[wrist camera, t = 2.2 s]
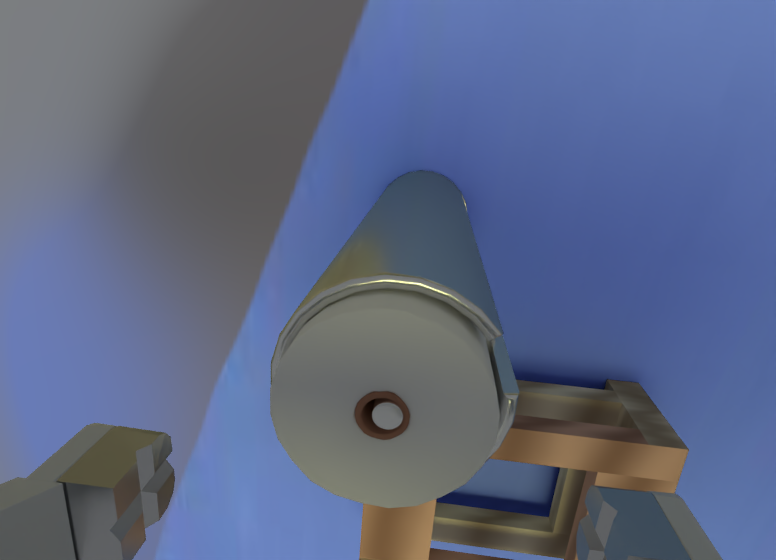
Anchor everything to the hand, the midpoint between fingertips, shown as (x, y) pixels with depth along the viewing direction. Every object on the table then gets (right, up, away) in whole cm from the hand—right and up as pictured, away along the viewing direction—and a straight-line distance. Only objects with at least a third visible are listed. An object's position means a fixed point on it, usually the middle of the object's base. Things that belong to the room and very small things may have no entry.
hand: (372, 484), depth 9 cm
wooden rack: (+9, -10, +31) cm, 34 cm away
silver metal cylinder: (+3, +9, +26) cm, 27 cm away
